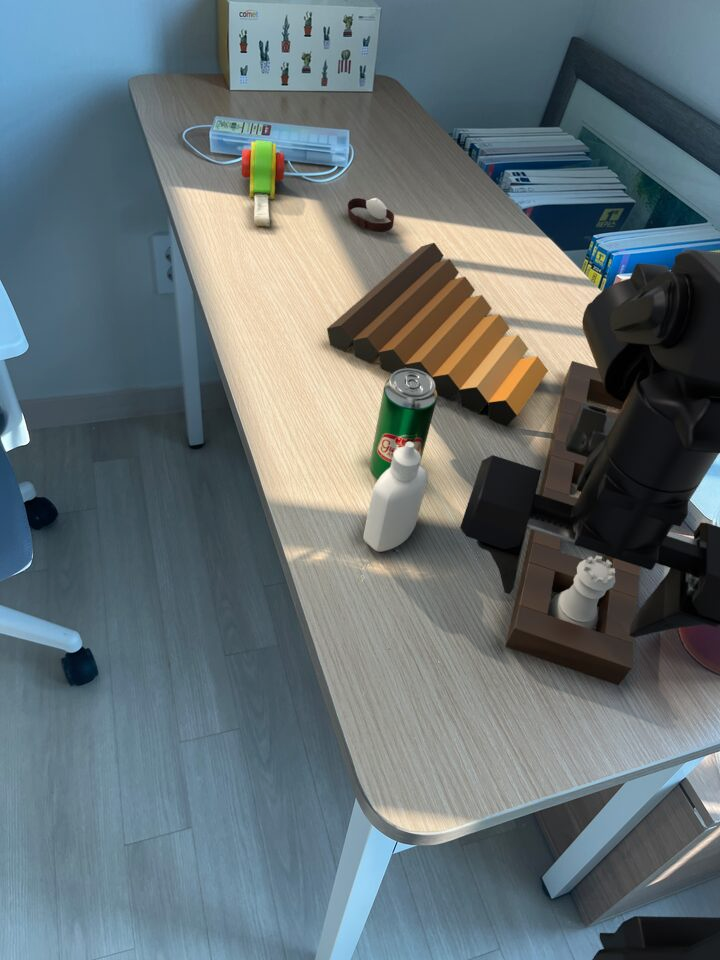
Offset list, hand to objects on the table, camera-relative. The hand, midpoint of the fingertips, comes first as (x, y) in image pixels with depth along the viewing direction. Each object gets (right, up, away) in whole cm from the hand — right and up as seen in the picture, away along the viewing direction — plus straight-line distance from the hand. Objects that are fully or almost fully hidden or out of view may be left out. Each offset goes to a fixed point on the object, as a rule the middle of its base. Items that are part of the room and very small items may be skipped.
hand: (569, 609), depth 55 cm
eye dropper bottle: (-12, +4, +18) cm, 22 cm away
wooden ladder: (+8, +7, +23) cm, 26 cm away
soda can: (-12, +10, +24) cm, 28 cm away
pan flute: (-2, +28, +42) cm, 50 cm away
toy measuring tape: (-30, +52, +60) cm, 85 cm away
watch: (-14, +48, +58) cm, 77 cm away
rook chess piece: (+4, -3, +13) cm, 14 cm away
